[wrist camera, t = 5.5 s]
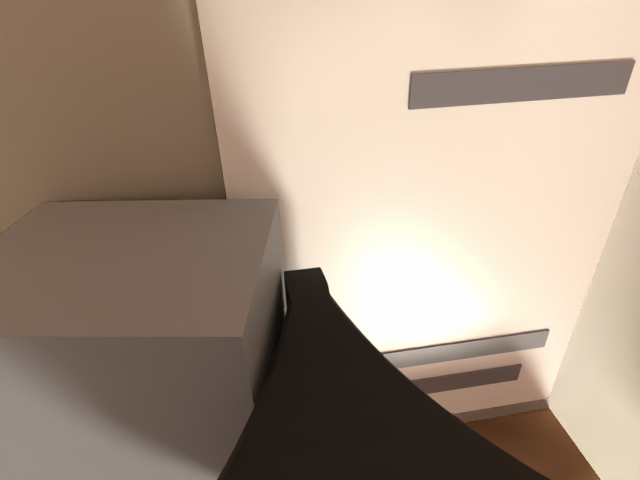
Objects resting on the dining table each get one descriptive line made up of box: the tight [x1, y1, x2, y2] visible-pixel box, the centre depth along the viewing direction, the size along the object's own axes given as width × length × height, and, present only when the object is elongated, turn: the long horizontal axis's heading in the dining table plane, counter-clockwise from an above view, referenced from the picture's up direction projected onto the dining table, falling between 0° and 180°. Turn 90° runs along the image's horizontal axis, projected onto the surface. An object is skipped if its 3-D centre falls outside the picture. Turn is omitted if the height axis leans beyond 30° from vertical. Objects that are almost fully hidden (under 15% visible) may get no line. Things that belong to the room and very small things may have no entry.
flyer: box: [196, 0, 640, 414], centre depth 11 cm, size 10×13×1 cm
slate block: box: [0, 199, 287, 480], centre depth 9 cm, size 5×5×4 cm
